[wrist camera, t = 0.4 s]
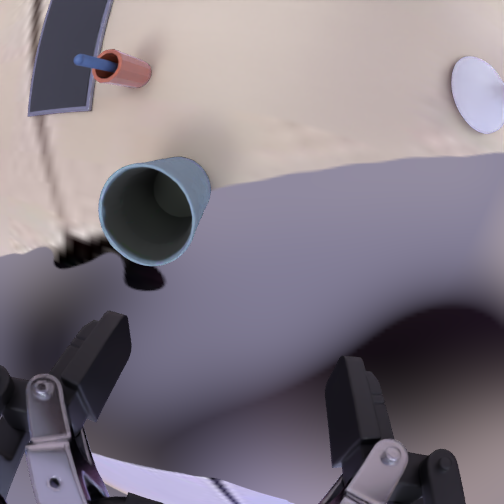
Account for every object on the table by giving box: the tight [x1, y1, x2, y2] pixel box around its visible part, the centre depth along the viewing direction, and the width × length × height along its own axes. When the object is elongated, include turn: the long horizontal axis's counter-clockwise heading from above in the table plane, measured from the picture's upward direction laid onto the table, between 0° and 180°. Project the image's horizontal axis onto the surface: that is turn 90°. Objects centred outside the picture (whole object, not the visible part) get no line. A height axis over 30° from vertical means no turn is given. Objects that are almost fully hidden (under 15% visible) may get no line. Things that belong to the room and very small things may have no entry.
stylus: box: [74, 54, 118, 73], centre depth 23 cm, size 1×1×13 cm
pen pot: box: [92, 49, 151, 88], centre depth 26 cm, size 4×4×8 cm
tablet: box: [28, 0, 113, 117], centre depth 27 cm, size 22×14×1 cm, turn 171°
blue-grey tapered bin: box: [98, 157, 211, 266], centre depth 31 cm, size 10×10×12 cm
